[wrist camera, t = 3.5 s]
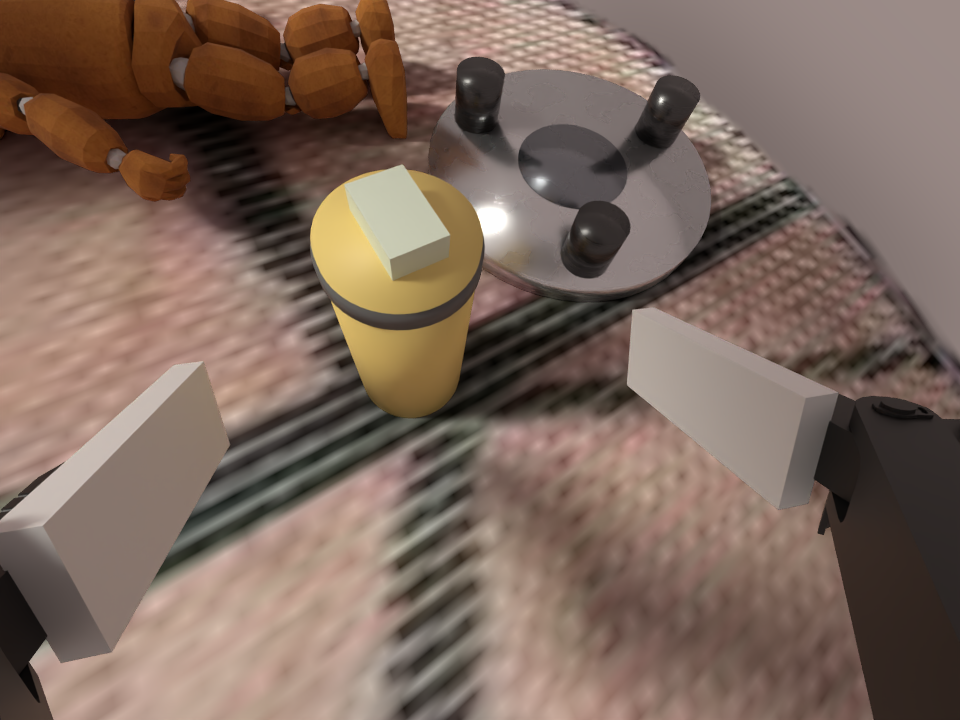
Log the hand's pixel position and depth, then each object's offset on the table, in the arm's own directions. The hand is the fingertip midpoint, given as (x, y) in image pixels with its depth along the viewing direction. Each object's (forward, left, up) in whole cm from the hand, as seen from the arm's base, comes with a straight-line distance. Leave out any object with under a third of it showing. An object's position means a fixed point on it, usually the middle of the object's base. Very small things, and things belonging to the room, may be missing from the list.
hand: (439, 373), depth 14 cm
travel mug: (-4, +1, -9) cm, 9 cm away
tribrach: (-11, +16, -9) cm, 21 cm away
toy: (-27, -5, -9) cm, 29 cm away
